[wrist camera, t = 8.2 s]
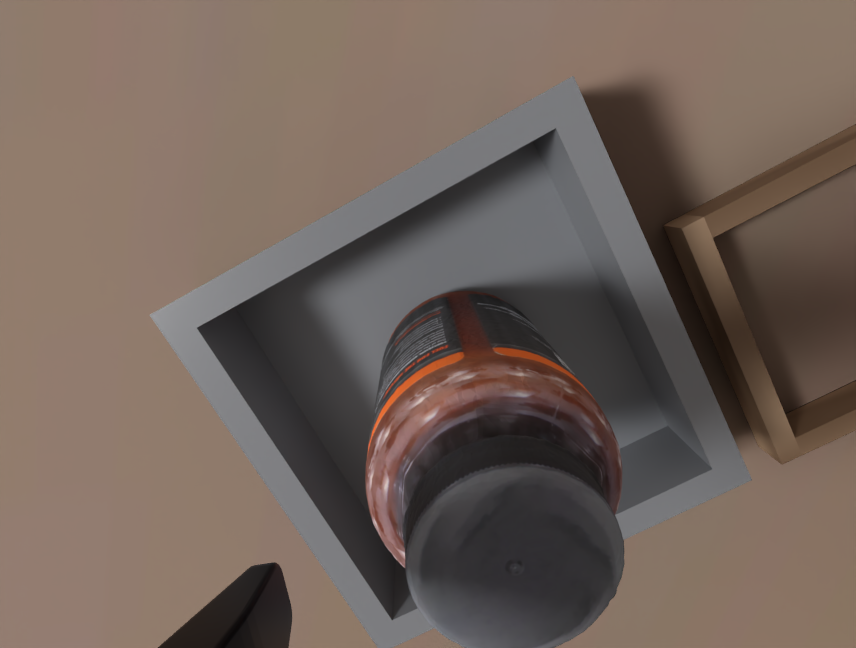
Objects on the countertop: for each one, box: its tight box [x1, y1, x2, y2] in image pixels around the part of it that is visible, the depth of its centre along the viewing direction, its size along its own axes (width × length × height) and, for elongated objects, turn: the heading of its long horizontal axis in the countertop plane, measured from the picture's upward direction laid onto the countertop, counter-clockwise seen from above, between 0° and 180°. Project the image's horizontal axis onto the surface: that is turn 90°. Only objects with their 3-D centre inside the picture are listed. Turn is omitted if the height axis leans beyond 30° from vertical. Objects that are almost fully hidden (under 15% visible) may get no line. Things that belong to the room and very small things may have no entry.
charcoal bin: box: [150, 76, 752, 648], centre depth 19 cm, size 14×14×4 cm
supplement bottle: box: [365, 291, 624, 648], centre depth 15 cm, size 6×6×11 cm
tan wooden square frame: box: [663, 124, 856, 464], centre depth 20 cm, size 10×10×2 cm
